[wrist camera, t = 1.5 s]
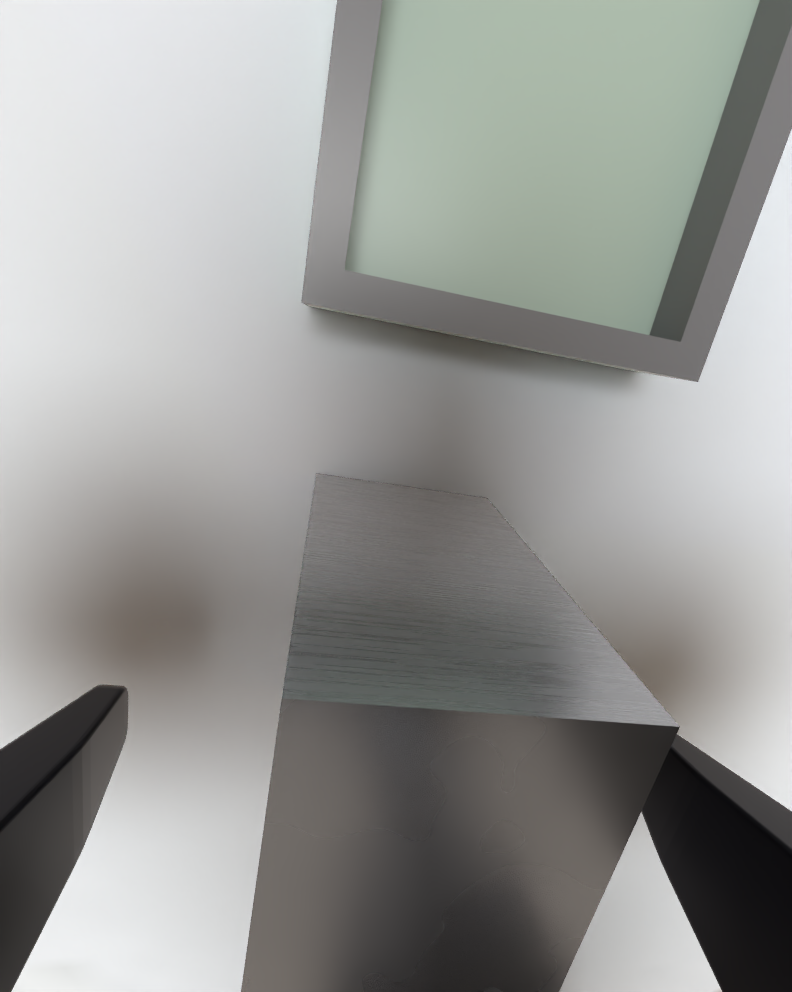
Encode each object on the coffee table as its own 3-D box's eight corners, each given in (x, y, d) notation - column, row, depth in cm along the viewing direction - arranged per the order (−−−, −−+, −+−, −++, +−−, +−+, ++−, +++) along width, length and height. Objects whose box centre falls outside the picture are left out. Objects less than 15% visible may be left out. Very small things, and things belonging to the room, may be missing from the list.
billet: (433, 703, 13) (524, 1066, 7) (285, 692, 13) (228, 1081, 6) (486, 497, 12) (680, 727, 5) (316, 473, 11) (280, 698, 4)
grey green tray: (636, 371, 11) (698, 381, 9) (308, 306, 10) (302, 302, 8) (823, -197, 8) (969, -353, 6) (393, -383, 7) (413, -647, 5)
